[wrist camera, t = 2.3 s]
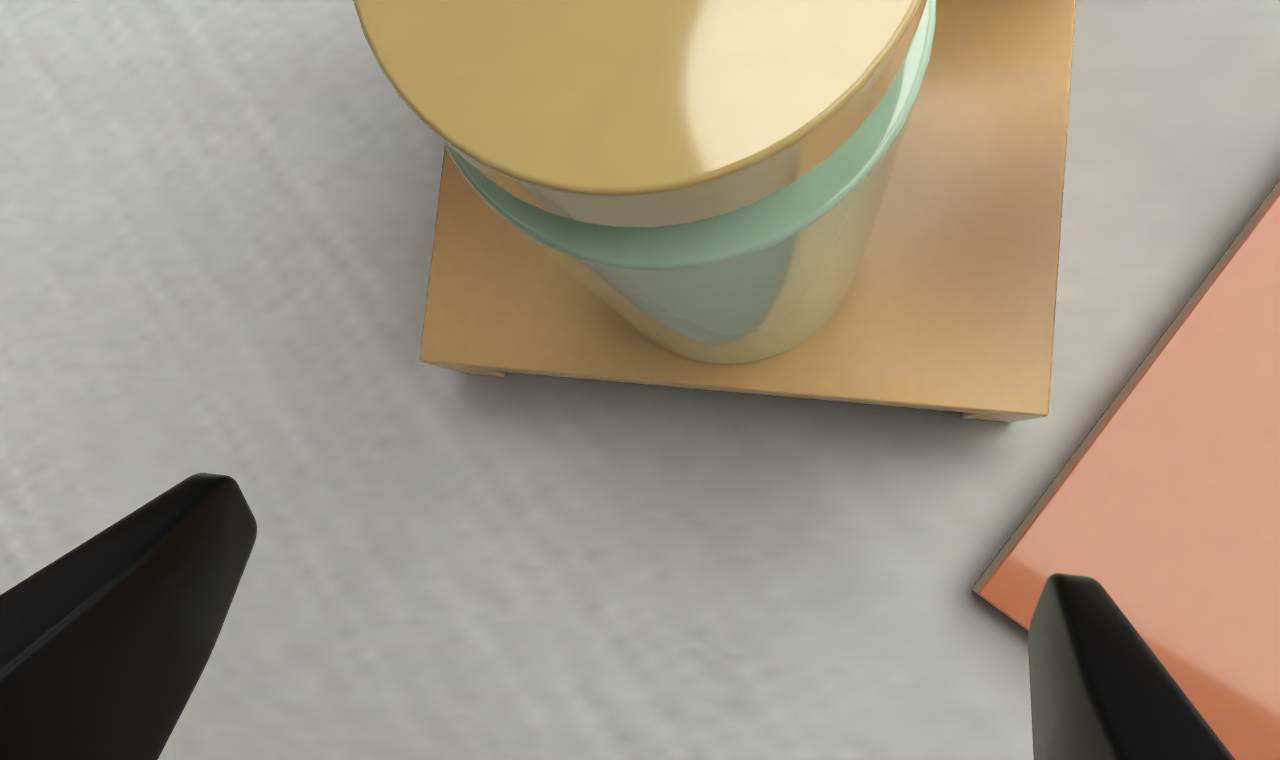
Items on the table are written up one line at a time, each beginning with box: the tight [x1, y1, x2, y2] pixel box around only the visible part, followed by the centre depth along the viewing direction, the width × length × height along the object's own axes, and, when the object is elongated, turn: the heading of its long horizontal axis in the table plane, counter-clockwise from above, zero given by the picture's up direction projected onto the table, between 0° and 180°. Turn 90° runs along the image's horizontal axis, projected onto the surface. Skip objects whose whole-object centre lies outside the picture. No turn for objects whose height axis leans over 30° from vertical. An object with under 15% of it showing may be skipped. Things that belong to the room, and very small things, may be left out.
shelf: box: [420, 0, 1076, 422], centre depth 19 cm, size 10×14×9 cm
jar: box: [353, 0, 936, 365], centre depth 14 cm, size 6×6×12 cm
